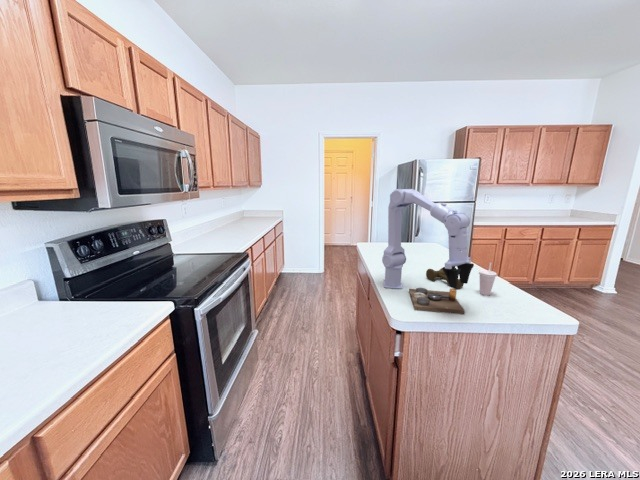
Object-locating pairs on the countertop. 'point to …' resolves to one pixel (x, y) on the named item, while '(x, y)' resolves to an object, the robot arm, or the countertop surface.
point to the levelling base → (434, 302)
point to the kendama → (435, 274)
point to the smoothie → (486, 281)
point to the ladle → (438, 297)
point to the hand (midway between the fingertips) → (458, 285)
